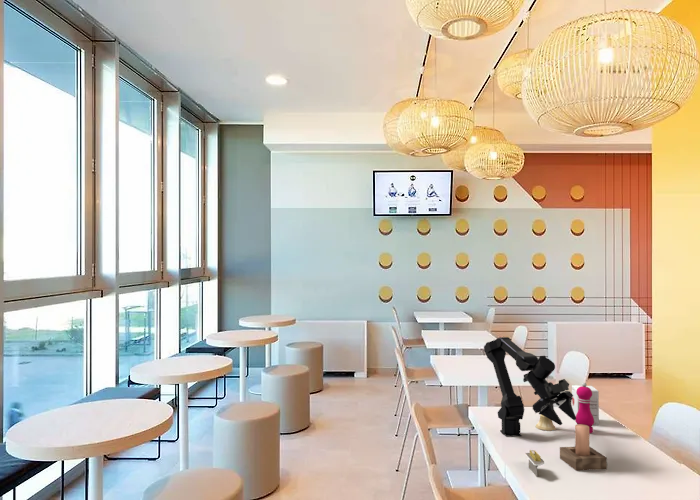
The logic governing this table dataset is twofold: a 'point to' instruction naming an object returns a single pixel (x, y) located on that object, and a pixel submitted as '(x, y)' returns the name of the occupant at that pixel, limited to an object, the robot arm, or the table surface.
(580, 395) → the pepper mill
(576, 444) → the peg
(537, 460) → the platform
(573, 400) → the supplement box
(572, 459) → the socket
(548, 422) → the hand bell
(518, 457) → the table surface
